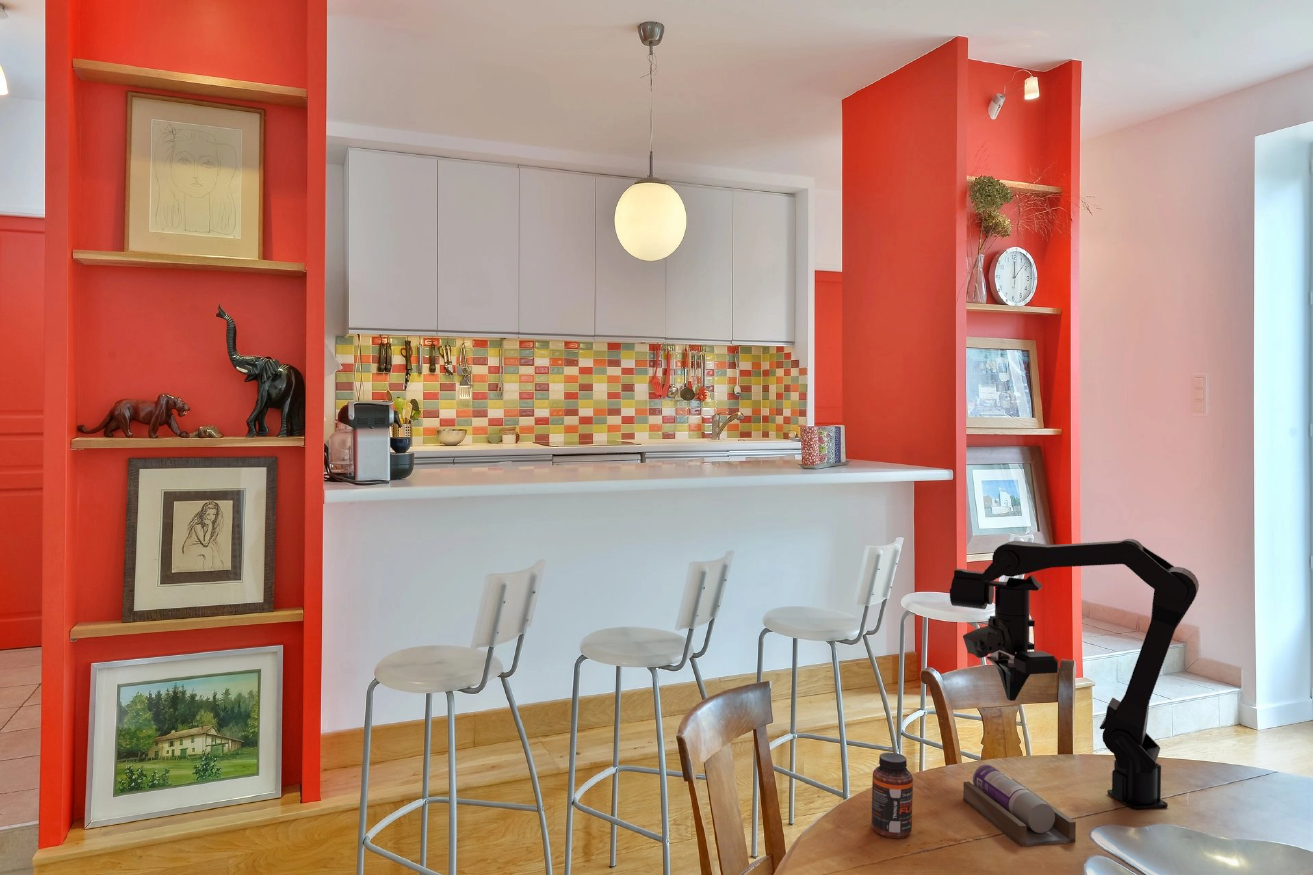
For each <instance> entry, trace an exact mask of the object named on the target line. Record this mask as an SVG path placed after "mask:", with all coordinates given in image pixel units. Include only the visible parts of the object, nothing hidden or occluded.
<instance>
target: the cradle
mask: <svg viewBox="0 0 1313 875" xmlns="http://www.w3.org/2000/svg"><path fill="white" fill-rule="evenodd" d="M1011 779H1012V780H1014V781H1015V782H1017V783H1018V784H1020V785H1021V786H1023V787H1024V788H1026V789H1027V790H1029V791H1030V792H1031V793H1033V794H1034V795H1035V796H1037V797H1038V798H1040V799H1041V800H1042V801H1044V802H1045V803H1047V804H1048V805H1049V806H1051V807H1052V809H1053V810H1054V813H1055V821H1054V824H1053V826H1052V827H1051V828H1050V829H1049V830H1048V831H1046V832H1044V833H1037V832H1035V831H1033V830H1032V829H1030V828H1029V827H1027V826H1026V825H1025V824H1024V823H1022V822H1021V821H1020V820H1018V819H1017V818H1016V817H1015V816H1013V815H1012V814H1011V813H1009V812H1008V811H1007V810H1005V809H1004V808H1003V807H1002V806H1000V805H999V804H998V803H996V802H995V801H994V800H992V799H991V798H990V797H989V796H987V795H986V794H985V793H983V792H982V791H981V790H979V789H978V788H977V787H976V786H974V784H973V782H970V781H963V785H962V786H963V789H962V790H963V791H962V792H963V794H962V795H963V797H962V798H963V799H962V800H963V801H964V802H965V803H966V804H968V805H969V806H970V807H971V808H972V809H974V810H975V811H976V812H977V813H979V815H980V816H982V817H983V818H984V819H985V820H987V821H988V822H989V823H991V824H992V825H993V826H994V827H995V828H997V829H998V831H1000V832H1002V834H1004V835H1006V837H1008V839H1010V840H1011V841H1012V842H1014V843H1015V844H1016V845H1017V846H1019V847H1030V846H1041V845H1043V846H1044V845H1045V846H1046V845H1054V844H1055V845H1057V844H1067V843H1076V838H1077V837H1076V836H1077V833H1076V829H1077V828H1076V827H1077V826H1076V821H1075V820H1074V819H1072V818H1071V817H1070V816H1068V815H1067V814H1065V813H1064V812H1062V811H1061V810H1059V809H1058V808H1057V807H1055V806H1053V804H1051V803H1049V802H1048V801H1047V800H1045V799H1044V798H1042V797H1040V796H1039V795H1038V794H1037V793H1035V792H1034V791H1032V790H1030V789H1029V788H1028V787H1026V786H1025V785H1023V784H1022V783H1021V782H1019V781H1018V780H1017V779H1015V778H1011Z"/></svg>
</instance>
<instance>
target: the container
mask: <svg viewBox="0 0 1313 875" xmlns="http://www.w3.org/2000/svg"><path fill="white" fill-rule="evenodd" d="M1012 779H1013V778H1010V777H1009V776H1008V775H1006V774H1005V773H1004V772H1001V771H1000V770H999V769H997V768H996V767H994V766H992V765H991V764H983V765H980V766H979V767H977V768H976V769H975V771H974V773H973V775H972V784H973V785H974V786H976V787H977V788H978V789H979V790H981V791H982V792H983V793H985V794H986V795H987V796H989V797H990V798H991V799H992V800H994V801H995V802H996V803H998V804H999V805H1000V806H1002V807H1003V808H1004V809H1005V810H1007V811H1008V812H1009V813H1011V814H1012V815H1013V816H1015V817H1016V818H1017V819H1018V820H1020V821H1021V822H1022V823H1024V824H1025V825H1026V826H1027V827H1029V828H1030V829H1032V830H1033V831H1035V832H1037V833H1044V832H1046V831H1048V830H1049V829H1050V828H1051V827H1052V826H1053V824H1054V821H1055V813H1054V810H1053V809H1052V807H1051V806H1049V805H1048V804H1047V803H1045V802H1044V801H1042V800H1041V799H1040V798H1038V797H1037V796H1035V795H1034V794H1033V793H1034V792H1033V793H1031V792H1030V791H1029V790H1030V789H1029V790H1027V789H1026V788H1027V787H1026V788H1024V787H1023V786H1024V785H1023V786H1021V785H1020V784H1018V783H1017V782H1015V781H1014V780H1012Z"/></svg>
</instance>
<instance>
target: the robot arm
mask: <svg viewBox="0 0 1313 875" xmlns="http://www.w3.org/2000/svg"><path fill="white" fill-rule="evenodd" d="M991 560H992V562H991V563H990V564H989V565H988V567H987V568H986V569H984V571H977V570H976V571H974V570H967V569H963V568H957V569H954V570H953V578H952V580H951V583H950V588H949V601H950V604H951V606H954V607H959V608H960V607H961V608H969V609H977V610H986V608H987V607H988V605H993V602H994V615H990V616H989V618H988V619H987V621H988V623H987V625H985V626H981V627H979V628H976V629H974V630H972V631H970V632H967V633H965V634H963V635H962V638H963V642H964V644H965V647H966V650H967V653H968V654H969V655H973V656H975V657H976V658H978V659H982V658H983V659H984V658H986V659H987V660H988V661H989V662H990V663H992V665H994V666H995V667H996V669H997V670H998V675H999V677H1000V680H1001V684H1002V686H1003V690H1004V692H1005V693H1004V694H1005V697H1006V700H1008V701H1009V702H1010V701H1011V702H1015V701H1016V700H1017V698H1018V696H1019V694H1020V692H1021V690H1022V689H1023V687H1024V686H1025V684H1026V682H1027V680H1028V679H1029V677H1030V676H1031V675H1040V674H1041V675H1042V674H1043V675H1044V674H1045V675H1046V674H1058V673H1059V666H1060V665H1059V663H1060V662H1059V660H1058V659H1057V658H1056V657H1055V655H1053V654H1051V653H1049V652H1046V651H1043V650H1037V651H1036V650H1035V643H1033V642H1030V627H1035V626H1036V620H1034V619H1031V618H1030V612H1031V611H1030V610H1031V609H1030V606H1031V603H1030V600H1031V599H1030V598H1031V597H1030V596H1031V591H1032V592H1034V591H1036V592H1037V591H1040V590H1041V589H1042V588H1043V584H1042V583H1040V582H1039V581H1038V580H1037V579H1036V578H1035V576H1034V575H1033V574H1031V573H1034V572H1039V571H1042V570H1046V569H1052V568H1068V567H1069V568H1071V567H1090V566H1091V567H1093V566H1094V567H1095V566H1113V565H1124V566H1125V567H1127V568H1128V569H1130V570H1131V571H1132V572H1133V573H1134V574H1135V575H1136V576H1138V578H1139V579H1141V580H1142V581H1143V582H1144V583H1145V584H1147V585H1148V586H1149V587H1151V588H1152V589H1153V597H1152V607H1151V614H1150V615H1151V617H1150V618H1151V619H1150V623H1149V625H1148V629H1147V631H1146V633H1145V636H1144V639H1143V642H1142V644H1141V648H1140V651H1139V654H1138V657H1137V660H1136V662H1135V665H1134V668H1133V670H1132V673H1131V676H1130V678H1129V679H1130V680H1129V683H1128V685H1127V688H1126V690H1125V693H1124V695H1123V697H1122V698H1121V700H1118V699H1116V698H1115V697H1111V699H1110V701H1109V703H1108V704H1107V706H1106V711H1105V712H1106V714H1105V717H1104V719H1103V720H1102V722H1101V724H1100V726H1099V729H1100V730H1103V731H1102V742H1103V744H1104V745H1105V747H1106V748H1107V750H1109V751H1110V752H1111V753H1112V754H1113V755H1114V756H1113V757H1114V758H1115V760H1114V761H1113V762H1114V763H1113V764H1114V766H1113V767H1114V768H1113V770H1111V771H1112V772H1111V789H1107V791H1106V792H1107V794H1108V795H1110V796H1111V797H1112V798H1115V800H1117V801H1119V802H1121V803H1123V804H1124V805H1126V806H1128V807H1129V808H1131V809H1133V810H1134V809H1135V810H1142V809H1143V810H1144V809H1153V808H1154V809H1155V808H1167V807H1168V806H1169V804H1168V802H1166V801H1164V799H1161V795H1162V793H1161V792H1162V782H1161V781H1162V765H1161V764H1159V763H1157V761H1158V759H1159V758H1158V757H1159V754H1160V751H1161V746H1160V745H1159V744H1158V743H1157V742H1156V741H1155V740H1154V739H1153V738H1152V737H1151V736H1150V735H1149V734H1148V733H1147V728H1148V721H1149V710H1150V702H1151V698H1152V695H1153V693H1154V690H1155V687H1156V685H1157V682H1158V680H1159V676H1160V673H1161V671H1162V668H1163V665H1164V663H1165V659H1166V656H1167V653H1168V652H1169V648H1170V645H1171V642H1172V640H1173V639H1174V638H1173V637H1174V635H1175V631H1176V629H1177V627H1179V624H1180V623H1181V622H1182V620H1183V618H1184V617H1185V615H1186V614H1187V611H1188V610H1189V609H1190V607H1191V606H1192V604H1193V603H1194V601H1195V599H1196V597H1197V593H1198V592H1199V587H1200V584H1199V580H1198V578H1197V577H1196V574H1194V572H1192V571H1191V570H1189V569H1187V568H1185V567H1180V566H1174V565H1173V564H1171V563H1170V562H1169V561H1167V560H1166V559H1164V558H1163V557H1161V556H1159V555H1158V554H1156V553H1155V552H1153V551H1151V550H1150V549H1148V548H1147V547H1146V546H1144V545H1143V544H1142V542H1140V541H1138V540H1137V539H1134V538H1126V539H1122V540H1113V541H1098V542H1083V543H1082V542H1079V543H1077V542H1076V543H1066V544H1065V543H1063V544H1045V543H1040V542H1039V543H1038V542H1033V541H1025V540H1024V541H1022V540H1011V541H1008V542H1005V543H1003V544H1001V545H999V546H997V548H995V550H994V552H993V553H992V559H991ZM1027 574H1031V575H1029V576H1027V578H1019V577H1017V576H1021V575H1022V576H1023V575H1027ZM1003 576H1004V577H1008V578H1007V580H1006V581H1000V580H999V581H998V580H997V579H999V578H1002V577H1003ZM989 654H990V656H988V655H989Z"/></svg>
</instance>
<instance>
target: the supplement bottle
mask: <svg viewBox="0 0 1313 875" xmlns="http://www.w3.org/2000/svg"><path fill="white" fill-rule="evenodd" d="M878 758H879V760H878V764H879V765H878V766H876V767H875V768H874V769H873V771H872V782H871V783H872V784H871V786H872V787H871V788H872V789H871V791H872V792H871V793H872V794H871V828H872V829H873V831H874V832H875V833H876V834H879V835H880V836H883V837H885V838H890V839H903V838H906V837H908V836H910V835H911V834H912V831H913V830H912V828H913V795H914V794H913V793H914V792H913V791H914V790H913V788H914V787H913V785H914V784H913V783H914V776H913V775H912V772H910V771H909V770H908V768H907V767H908V764H907V762H908V761H907V757H906V756H905V755H903V754H900V753H897V752H882V753H880V754H879V756H878Z"/></svg>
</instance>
